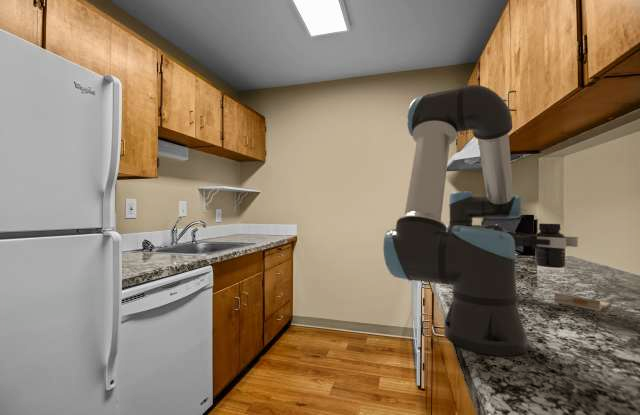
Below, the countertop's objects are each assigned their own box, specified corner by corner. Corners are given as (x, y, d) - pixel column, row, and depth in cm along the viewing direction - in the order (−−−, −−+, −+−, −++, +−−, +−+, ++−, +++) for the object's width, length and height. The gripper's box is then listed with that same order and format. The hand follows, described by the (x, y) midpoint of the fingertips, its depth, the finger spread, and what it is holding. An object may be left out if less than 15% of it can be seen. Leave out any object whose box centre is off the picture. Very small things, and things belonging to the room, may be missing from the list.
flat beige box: (598, 311, 82) (598, 301, 82) (554, 302, 90) (554, 293, 90) (610, 304, 87) (610, 295, 87) (567, 296, 96) (567, 288, 96)
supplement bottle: (570, 268, 82) (570, 224, 82) (542, 267, 84) (541, 224, 84) (557, 264, 89) (557, 223, 89) (531, 263, 91) (530, 223, 91)
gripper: (503, 246, 107) (586, 254, 87) (469, 250, 97) (554, 259, 77) (503, 224, 107) (586, 227, 87) (469, 226, 97) (554, 229, 77)
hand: (571, 242), depth 82 cm, fingers closed on supplement bottle, 7 cm apart
